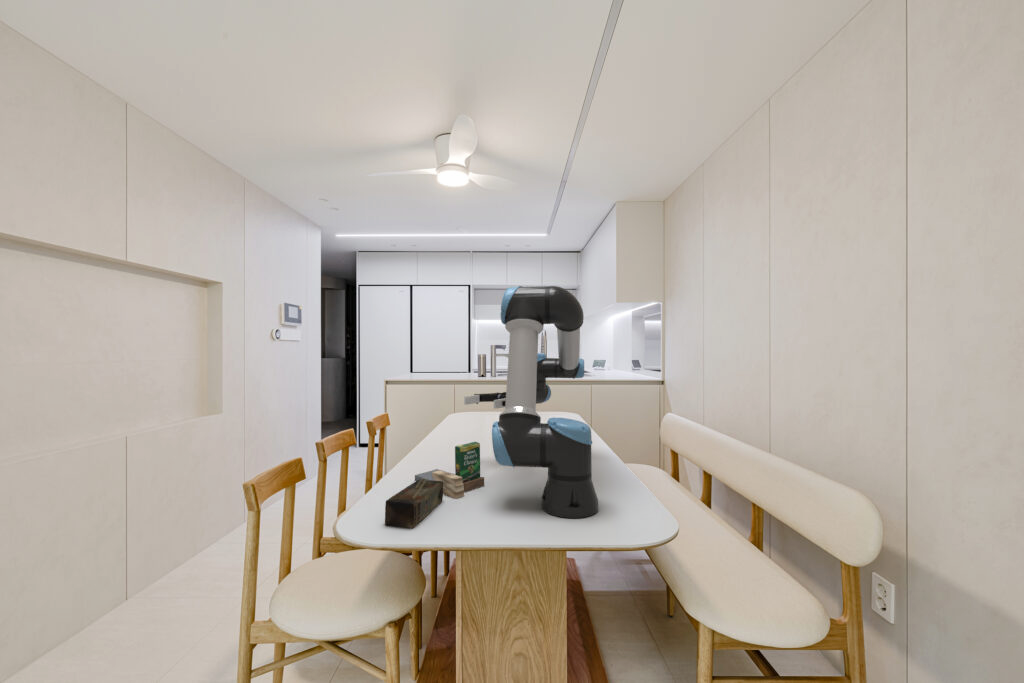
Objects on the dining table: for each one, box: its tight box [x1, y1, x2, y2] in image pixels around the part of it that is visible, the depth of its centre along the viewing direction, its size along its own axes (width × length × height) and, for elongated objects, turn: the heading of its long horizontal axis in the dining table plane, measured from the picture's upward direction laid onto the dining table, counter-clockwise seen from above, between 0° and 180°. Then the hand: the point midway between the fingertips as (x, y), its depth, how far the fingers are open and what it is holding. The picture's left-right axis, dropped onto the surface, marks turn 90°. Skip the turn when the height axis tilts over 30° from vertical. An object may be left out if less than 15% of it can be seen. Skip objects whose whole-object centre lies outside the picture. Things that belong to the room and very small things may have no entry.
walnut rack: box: [463, 476, 485, 493], centre depth 133 cm, size 6×8×2 cm
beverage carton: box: [384, 478, 444, 529], centre depth 112 cm, size 8×19×7 cm, turn 167°
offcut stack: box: [432, 469, 465, 499], centre depth 127 cm, size 11×3×5 cm, turn 49°
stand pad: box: [414, 468, 455, 482], centre depth 138 cm, size 9×9×2 cm
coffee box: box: [454, 441, 481, 483], centre depth 133 cm, size 8×3×13 cm, turn 133°
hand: (479, 402), depth 143 cm, fingers open, 13 cm apart
